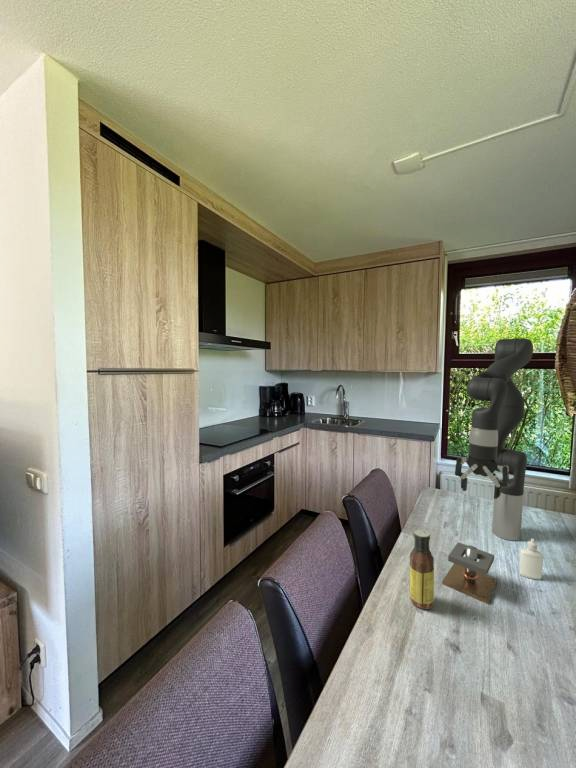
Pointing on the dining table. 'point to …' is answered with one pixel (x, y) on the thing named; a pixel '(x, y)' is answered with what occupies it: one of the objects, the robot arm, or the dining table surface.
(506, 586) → the dining table surface
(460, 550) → the collar
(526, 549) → the eye dropper bottle
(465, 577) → the bronze plate with post
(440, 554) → the dining table surface
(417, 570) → the sauce bottle
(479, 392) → the robot arm
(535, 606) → the dining table surface
